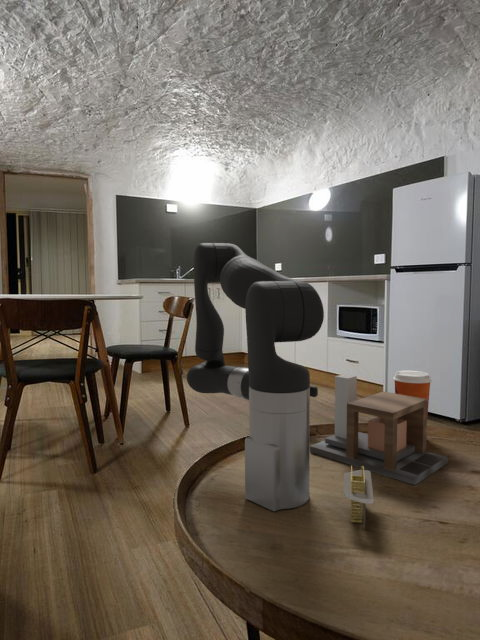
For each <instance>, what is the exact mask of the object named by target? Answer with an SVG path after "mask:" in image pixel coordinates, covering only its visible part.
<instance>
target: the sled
mask: <svg viewBox="0 0 480 640" xmlns="http://www.w3.org/2000/svg"><path fill="white" fill-rule="evenodd" d="M357 376H358V375H351V374H347V373H345V374H344V373H343V374H338V375H335V376H334V434H333V435H330V436H327V437H325V438H324V440H325V443H326V444H330V445H333V446H337V447H340V448H344V449H346V445H347V403H349V402H352V401H356V400H358V399H357V395H358V394H357V390H358V387H357V385H358V384H357V383H358V382H357V381H358V377H357ZM406 432H407V420H403V419H398V418H397V461H399V460H400V459H402V458H404V457H406V456H408V455H409V454H411V453H413V452H415V446H413V445H409V444H406ZM384 436H385V418H382V417H377V416H375V417H374V418H371V419H369V420H368V421H367V433H366V432H365V433H364V432H360V431H358V453H361V454H364V455H368V456H371V457H375V458H378V459H382V460H384Z"/></svg>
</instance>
